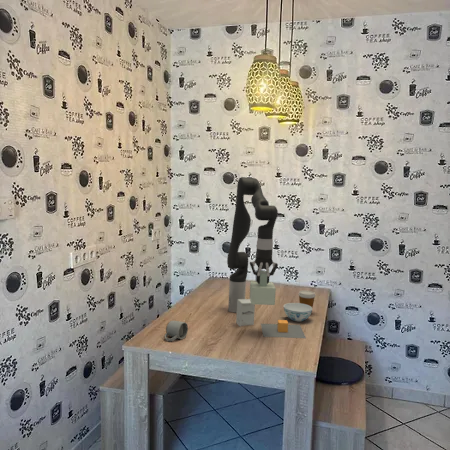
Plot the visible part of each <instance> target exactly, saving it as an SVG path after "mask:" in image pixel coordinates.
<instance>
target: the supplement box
mask: <svg viewBox="0 0 450 450" xmlns="http://www.w3.org/2000/svg"><path fill="white" fill-rule="evenodd" d="M255 309H256V304H251V301H250V298H245V299H237V313H236V321H235V322H236V324H237V325H238V327H243V326H254V325H255Z"/></svg>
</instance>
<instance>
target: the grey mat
mask: <svg viewBox="0 0 450 450" xmlns="http://www.w3.org/2000/svg"><path fill="white" fill-rule="evenodd" d="M260 326H261V332H262V335H263V337H265V338H266V337H267V338H283V339H285V338H290V339H307V337H306V335H305V333H304V330H303V328H302V326H301V324H288V332H278V329H277V326H278V323H260Z"/></svg>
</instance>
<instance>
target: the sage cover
mask: <svg viewBox="0 0 450 450" xmlns="http://www.w3.org/2000/svg"><path fill="white" fill-rule="evenodd" d="M276 291H277V288H276V286H275V284H274V282H272V281H269V283H268V284H267V272H266V270H264V271H262V270H261V272H260V284H258V283H257V281H250V283H249V299H250V301H251V304H255V305H259V306H262V305H265V306H266V305H267V306H276V293H277V292H276Z"/></svg>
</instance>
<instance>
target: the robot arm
mask: <svg viewBox="0 0 450 450" xmlns="http://www.w3.org/2000/svg"><path fill="white" fill-rule="evenodd" d="M244 196H251V205H252V206H253V208H254V217H255V218H256V219H257V220H258V221H265V222H266V221H267V222H266V223H265V224H263V225H260V226H258V228H257V240H256V252H255V257H256V258H255V260H254V261H249V256H248V253H246V252H245V251H239V249H240V246H241V244H242V242H243V241H244V240H245V239H246V238H247V236H248V235H249V233H250V228H251V223H252V222H251V221H252V219H251V216H250V213H249V212H248V209H247V207H246V204H245V201H244V199H245V198H244ZM278 215H279V211H278V208H277V207H276V206H275V205H269V201H268V200H267V199H266V197H265V196H264V194H263V190H262V186H261V183H260V182H259V180H258V179H257V178H255V177H248V176H247V177H245V176H241V177H239V179H238V180H237V186H236V202H235V210H234V217H233V221H232V223H233V224H232V230H231V231H232V233H231V239H230V244H229V248H228V254H227V260H226V263H227V267H228V268H229V269H230V270H236V271H234V272H233V273H231V274H230V275H229V285H228V286H229V287H228V308H227V309H228V310H227V312H230V313H231V312H232V313H234V314H235V313H236V314H237V299H246V290H247V289H246V286H247V285H246V284H247V277H248V271H249V265H250V268H251V270H252V273H253V275H255V276H256V282H257V283H258V284H260V272H261V271H262V270H265V271H266V272H267V284H268V283H269V282H270V277H271V276H274V274H275V272H276V270H277V268H278V263H277V262H274V261H273V249H274V248H273V246H274V245H273V244H274V242H273V238H274V237H273V235H274V234H273V233H274V227H275V224H276V221H277V218H278ZM255 266H257V271H256V270H255ZM270 267H272V269H271V270H270Z"/></svg>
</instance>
